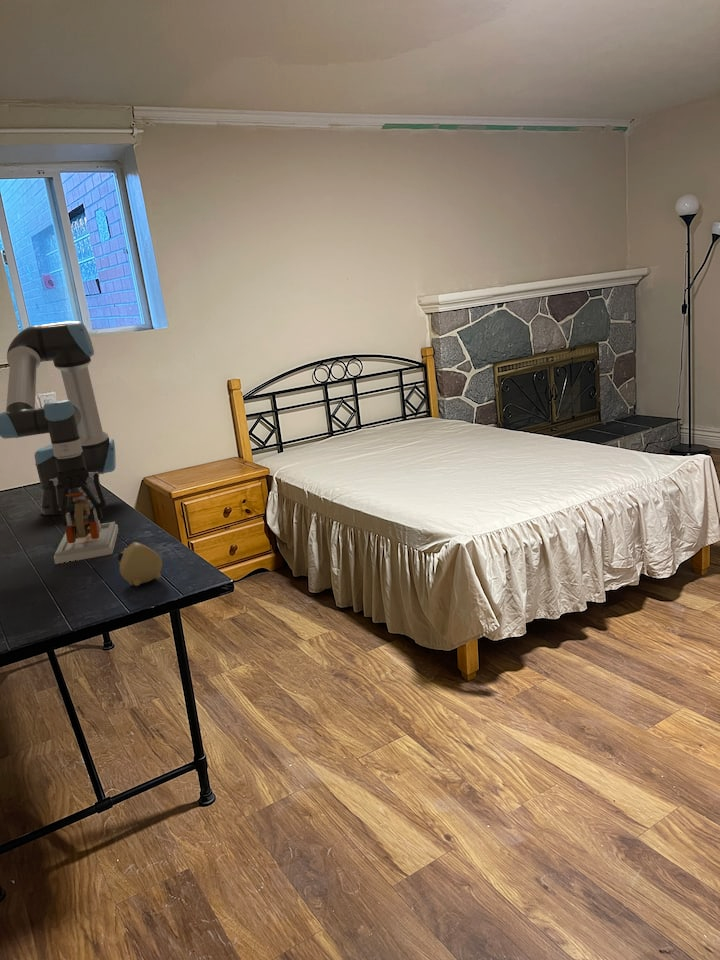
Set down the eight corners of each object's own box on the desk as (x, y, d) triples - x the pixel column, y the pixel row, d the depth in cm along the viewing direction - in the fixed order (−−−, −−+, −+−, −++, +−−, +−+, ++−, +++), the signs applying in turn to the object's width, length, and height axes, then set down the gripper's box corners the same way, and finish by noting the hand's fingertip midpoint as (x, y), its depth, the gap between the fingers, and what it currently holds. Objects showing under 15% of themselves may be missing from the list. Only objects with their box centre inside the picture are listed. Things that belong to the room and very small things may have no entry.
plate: (67, 539, 213) (65, 529, 212) (118, 530, 216) (116, 521, 215) (55, 564, 191) (52, 554, 190) (112, 553, 194) (110, 543, 193)
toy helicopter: (67, 547, 193) (56, 499, 189) (74, 526, 212) (65, 483, 209) (98, 541, 195) (88, 493, 191) (103, 521, 214) (94, 478, 211)
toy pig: (154, 570, 178) (147, 530, 175) (171, 583, 168) (163, 541, 165) (116, 582, 172) (107, 541, 170) (130, 596, 163) (121, 553, 160)
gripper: (29, 463, 191) (47, 543, 197) (104, 452, 195) (120, 530, 201) (34, 458, 198) (52, 535, 204) (106, 448, 202) (122, 523, 208)
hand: (85, 532), depth 202 cm, fingers closed on toy helicopter, 7 cm apart
